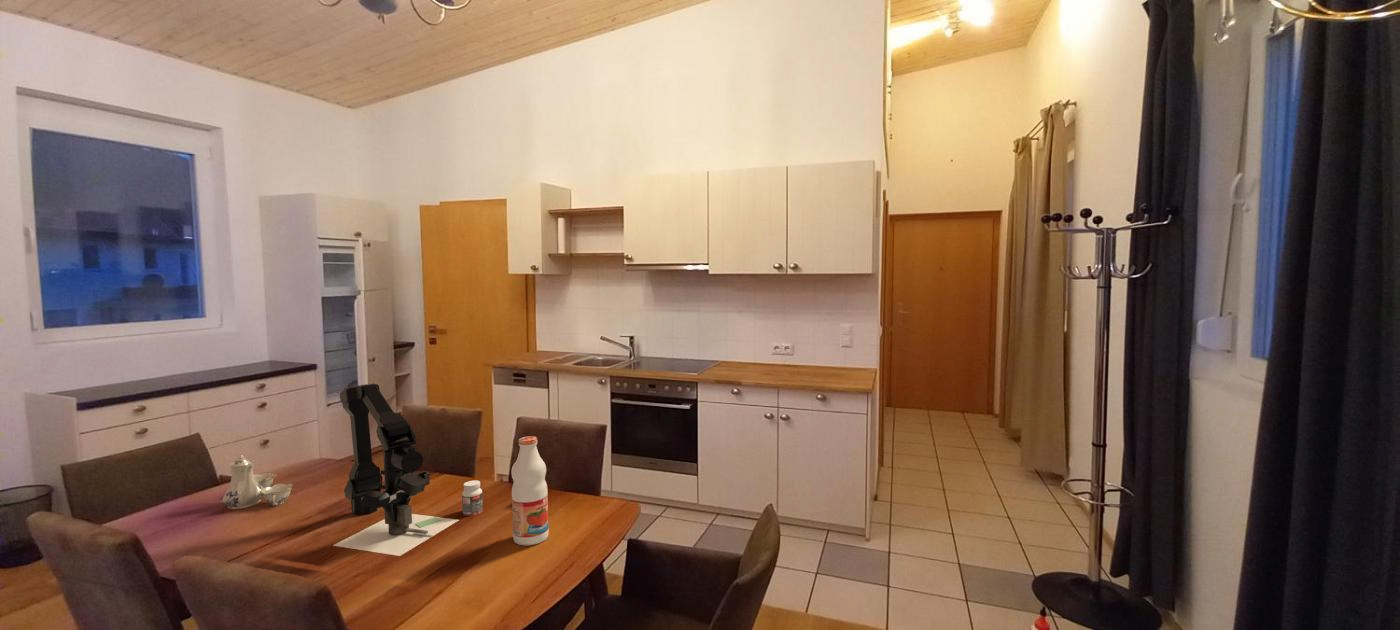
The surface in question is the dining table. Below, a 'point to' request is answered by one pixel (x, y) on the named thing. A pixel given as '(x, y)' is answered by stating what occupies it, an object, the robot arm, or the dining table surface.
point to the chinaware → (252, 486)
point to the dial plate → (396, 536)
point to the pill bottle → (472, 498)
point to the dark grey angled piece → (402, 521)
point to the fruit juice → (529, 495)
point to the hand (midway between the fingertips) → (398, 519)
